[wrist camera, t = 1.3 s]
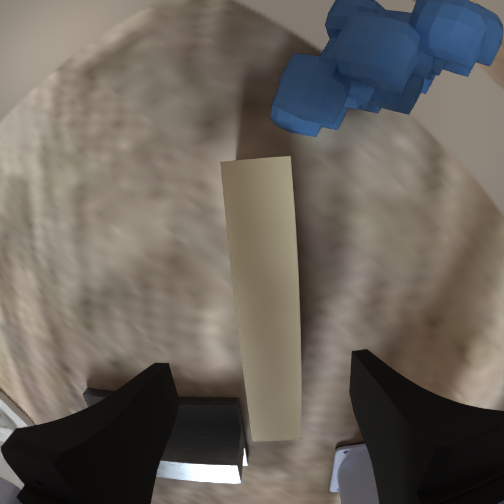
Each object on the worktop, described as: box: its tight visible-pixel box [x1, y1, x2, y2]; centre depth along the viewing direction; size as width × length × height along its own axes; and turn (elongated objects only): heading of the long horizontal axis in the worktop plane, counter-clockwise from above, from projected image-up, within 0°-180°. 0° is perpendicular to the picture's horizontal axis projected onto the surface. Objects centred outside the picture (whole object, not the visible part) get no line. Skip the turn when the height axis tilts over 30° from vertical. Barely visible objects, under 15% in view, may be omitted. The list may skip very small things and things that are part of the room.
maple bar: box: [220, 156, 302, 441], centre depth 18 cm, size 3×16×6 cm, turn 5°
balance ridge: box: [83, 388, 248, 483], centre depth 22 cm, size 14×8×5 cm, turn 95°
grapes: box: [270, 0, 503, 137], centre depth 11 cm, size 12×7×12 cm, turn 117°
